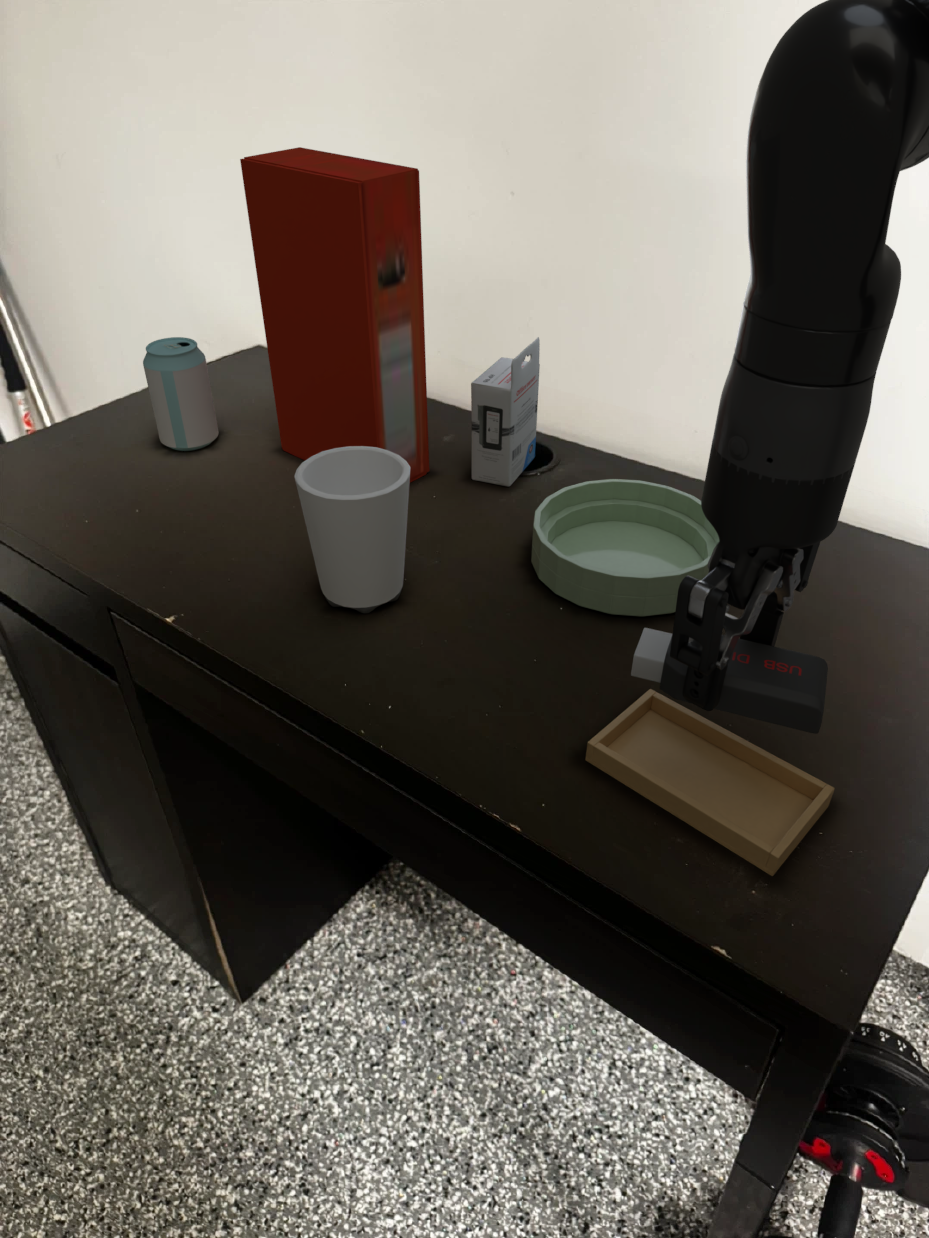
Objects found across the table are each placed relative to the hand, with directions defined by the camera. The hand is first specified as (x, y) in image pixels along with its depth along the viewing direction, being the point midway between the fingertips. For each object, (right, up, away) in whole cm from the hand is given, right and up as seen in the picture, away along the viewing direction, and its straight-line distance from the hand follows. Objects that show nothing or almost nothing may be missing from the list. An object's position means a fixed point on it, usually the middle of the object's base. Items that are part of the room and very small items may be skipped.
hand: (728, 675), depth 58 cm
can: (-51, +26, +52) cm, 77 cm away
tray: (0, -8, +6) cm, 10 cm away
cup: (-27, +6, +26) cm, 38 cm away
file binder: (-30, +22, +47) cm, 60 cm away
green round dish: (-1, +9, +29) cm, 31 cm away
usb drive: (0, -1, +1) cm, 1 cm away
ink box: (-13, +21, +46) cm, 52 cm away
